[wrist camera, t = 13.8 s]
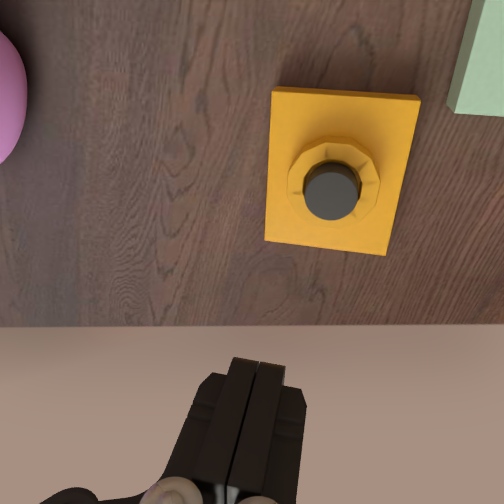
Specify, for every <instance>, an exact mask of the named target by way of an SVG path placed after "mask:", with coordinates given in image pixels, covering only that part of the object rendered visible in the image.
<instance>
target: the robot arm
mask: <svg viewBox="0 0 504 504" xmlns="http://www.w3.org/2000/svg"><path fill="white" fill-rule="evenodd" d="M284 377H285V366H282V365H277V364H271V363H266V362H260V364H259V361H253V360H248V359H243V358H237V357H234V358H233V359H232V362H231V365H230V367H229V370H228V373H227V375H224V374H218V373H211V374H210V376H208V377H207V378H206V379H205V380H204V381H203V382H202V383H201V384H200V386H199V388H198V391H197V393H196V396H195V398H194V400H193V404H192V405H191V408H190V411H189V413H188V416H187V418H186V420H185V422H184V425H183V427H182V430H181V432H180V435H179V437H178V439H177V442H176V444H175V447H174V449H173V452H172V455H171V456H170V459H169V461H168V464H167V466H166V469H165V471H164V473H163V474H162V476H161V477H160V479H159V480H158V481H157V482H156V483H155V484H154V485H152V486H151V487H150V488H149V489H148V490H146V491H145V492H143V493H141V494H139V495H136V496H133V497H128V498H120V499H113V500H104V501H98V499H97V497H96V496H95V495H94V494H93V493H92V492H91V491H89V490H88V489H84V488H79V487H74V488H68V489H65V490H62V491H60V492H58V493H56V494H54V495H53V496H51V497H49V498H48V499H46V500H44V501H43V502H41V503H40V504H296V495H297V486H298V477H299V468H300V460H301V451H302V442H303V433H304V425H305V416H306V408H307V405H306V402H305V399H304V396H303V394H302V390H301V389H298V388H293V387H288V386H284Z"/></svg>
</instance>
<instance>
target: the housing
mask: <svg viewBox="0 0 504 504" xmlns="http://www.w3.org/2000/svg"><path fill="white" fill-rule="evenodd" d="M420 104H421V100H420V99H419V98H418V96H417V95H409V94H393V93H377V92H362V91H346V90H330V89H315V88H299V87H283V86H277V87H276V88H275V89H274V90H273V91H272V98H271V118H270V138H269V159H268V179H267V199H266V220H265V240H266V241H274V242H282V243H290V244H298V245H305V246H313V247H321V248H329V249H336V250H344V251H352V252H360V253H368V254H375V255H383V256H385V255H386V252H387V248H388V244H389V239H390V235H391V231H392V226H393V222H394V217H395V213H396V209H397V204H398V200H399V196H400V191H401V187H402V183H403V178H404V174H405V170H406V165H407V161H408V157H409V152H410V148H411V143H412V139H413V135H414V130H415V126H416V122H417V117H418V113H419V109H420ZM331 162H335V163H340V164H343V165H345V166H347V167H348V168H350V169H351V170H352V171H353V173H354V174H355V176H356V178H357V183H358V200H357V204H356V206H355V208H354V209H353V211H352V212H351V213H350V214H348V215H347V216H346V217H344V218H341V219H338V220H332V221H330V220H323V219H320V218H318V217H316V216H315V215H314V214H312V213H311V212H310V210H309V209H308V208H307V206H306V203H305V198H304V194H305V189H306V185H307V182H308V178H309V176H310V174H311V173H312V172H313V171H314V170H315V169H316V168H317V167H318V166H320V165H322V164H325V163H331Z"/></svg>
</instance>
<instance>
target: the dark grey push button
mask: <svg viewBox="0 0 504 504" xmlns="http://www.w3.org/2000/svg"><path fill="white" fill-rule="evenodd" d="M304 198H305V203H306V206H307V208H308V209H309V210H310V212H311V213H312V214H314V215H315V216H316V217H318V218H320V219H323V220H330V221H332V220H338V219H341V218H344V217H346V216H347V215H348V214H350V213H351V212H352V211H353V209H354V208H355V206H356V204H357V200H358V183H357V178H356V176H355V174H354V173H353V171H352V170H351V169H350V168H348V167H347V166H345V165H343V164H340V163H335V162H331V163H325V164H322V165H320V166H318V167H317V168H316V169H315V170H314V171H313V172H312V173H311V174H310V176H309V178H308V182H307V185H306V189H305V194H304Z"/></svg>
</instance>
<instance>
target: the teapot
mask: <svg viewBox="0 0 504 504" xmlns="http://www.w3.org/2000/svg"><path fill="white" fill-rule="evenodd" d="M26 109H27V79H26V72H25V68H24V65H23V62H22V59H21V57H20V55H19V53H18V51H17V50H16V48H15V47H14V45H13V44H12V43H11V42H10V40H9V39H8V38H7V37H6V36H5V35H4V34H3V33H2V32H1V31H0V163H2V162H3V161H4V160H5V159H6V158H7V156H8V155H9V154H10V153H11V152H12V150H13V149H14V147H15V145H16V143H17V141H18V139H19V137H20V134H21V131H22V129H23V125H24V121H25V116H26Z"/></svg>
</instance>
